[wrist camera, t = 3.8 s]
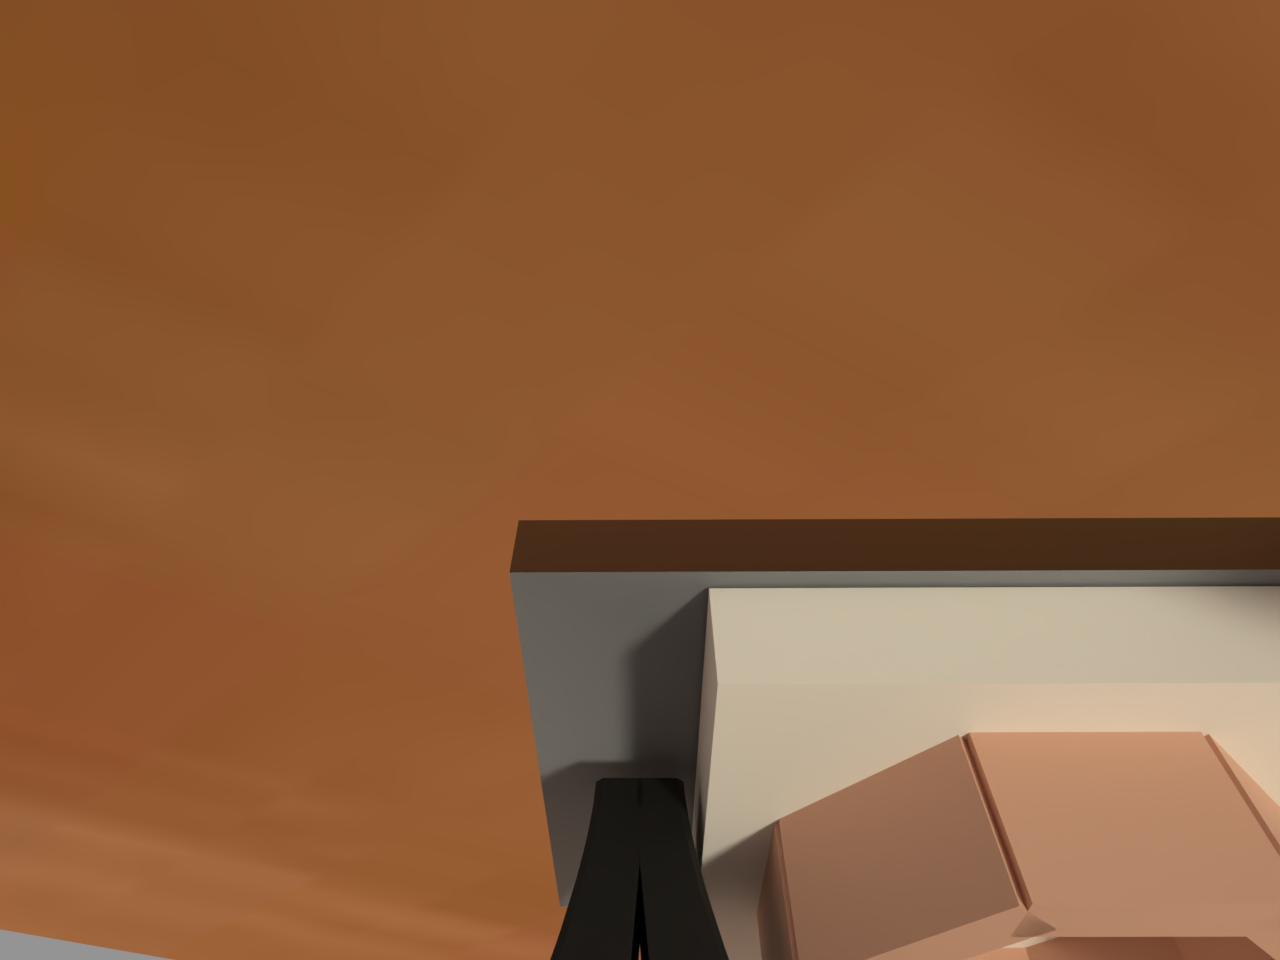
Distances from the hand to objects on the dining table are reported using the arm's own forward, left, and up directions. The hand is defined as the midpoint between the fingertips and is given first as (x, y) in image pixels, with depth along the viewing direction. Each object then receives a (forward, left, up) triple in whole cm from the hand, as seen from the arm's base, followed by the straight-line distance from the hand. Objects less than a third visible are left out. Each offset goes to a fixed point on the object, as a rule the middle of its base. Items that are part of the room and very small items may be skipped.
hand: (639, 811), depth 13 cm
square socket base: (0, +5, -1) cm, 5 cm away
